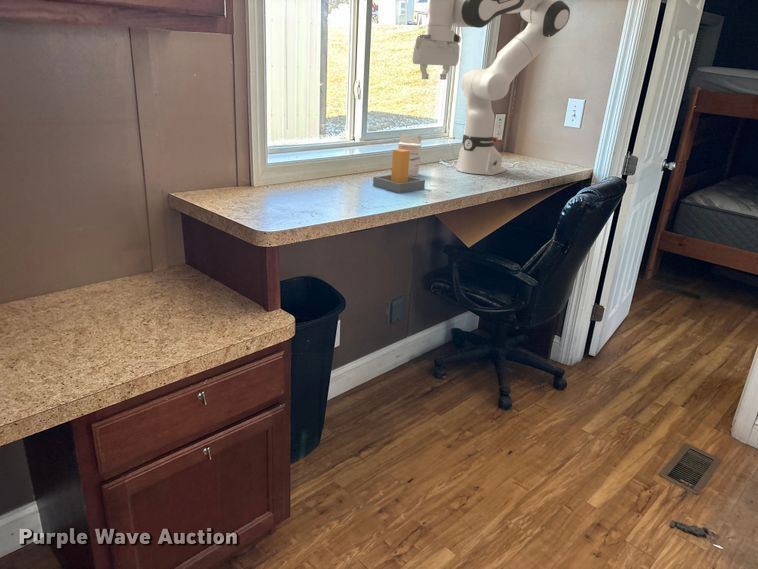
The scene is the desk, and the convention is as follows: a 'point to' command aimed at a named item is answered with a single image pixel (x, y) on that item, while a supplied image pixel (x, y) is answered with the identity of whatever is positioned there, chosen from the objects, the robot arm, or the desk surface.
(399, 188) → the tray
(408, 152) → the orange rectangular block
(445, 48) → the robot arm
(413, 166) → the ink cartridge box
